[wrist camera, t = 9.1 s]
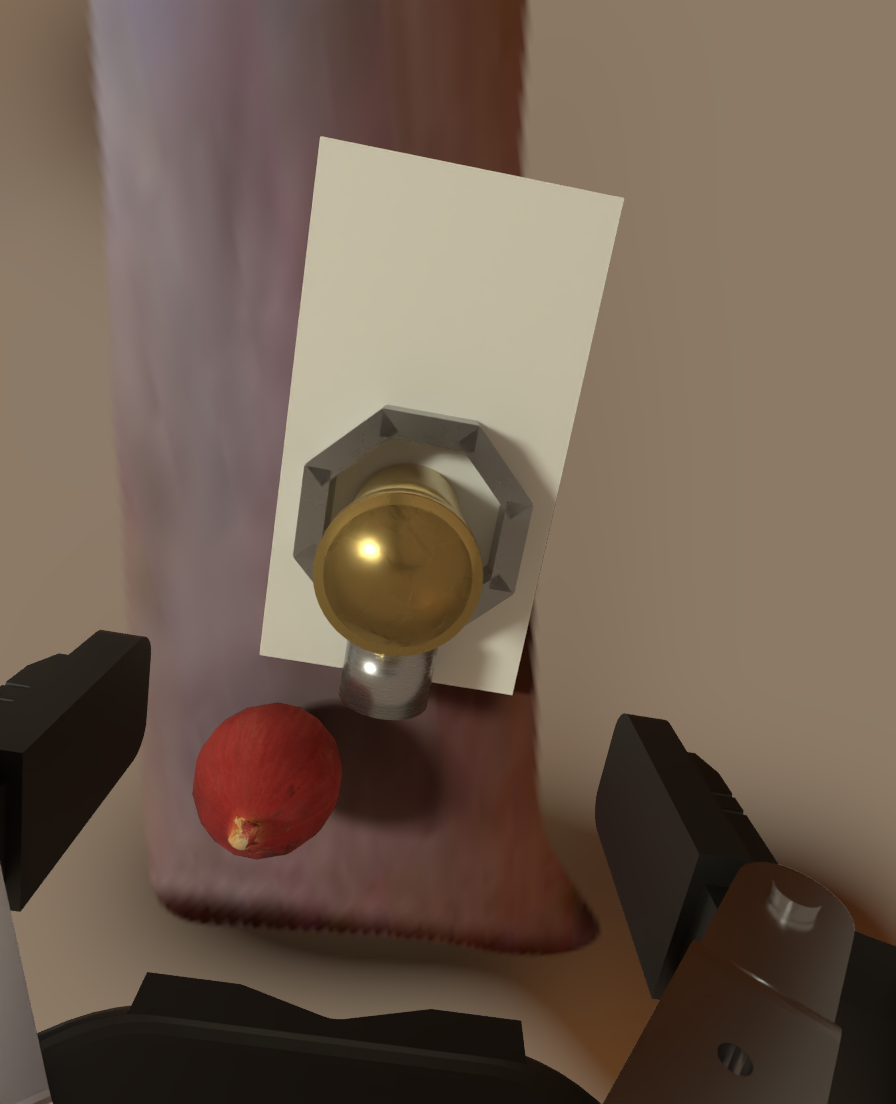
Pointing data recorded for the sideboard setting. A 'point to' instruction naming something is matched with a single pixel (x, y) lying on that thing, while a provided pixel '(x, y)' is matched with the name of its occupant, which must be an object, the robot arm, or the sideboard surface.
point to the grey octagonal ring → (406, 680)
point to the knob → (399, 564)
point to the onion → (267, 780)
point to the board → (439, 362)
